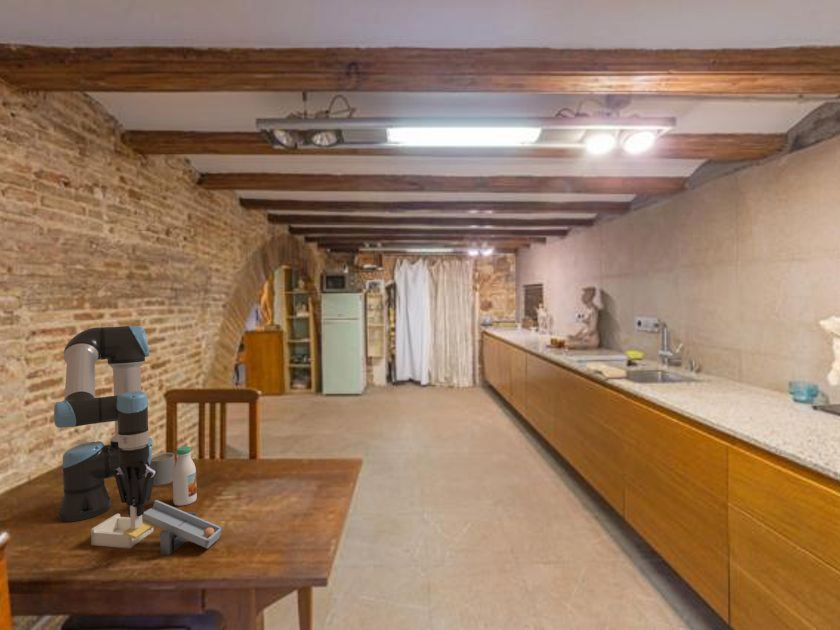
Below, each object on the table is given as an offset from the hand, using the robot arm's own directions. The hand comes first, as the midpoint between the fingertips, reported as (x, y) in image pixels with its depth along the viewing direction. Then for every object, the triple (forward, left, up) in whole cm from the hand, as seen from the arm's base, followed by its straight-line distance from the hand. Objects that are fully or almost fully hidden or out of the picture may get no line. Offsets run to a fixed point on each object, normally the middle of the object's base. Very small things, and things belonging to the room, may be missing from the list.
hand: (136, 526), depth 133 cm
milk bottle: (-9, +34, -9) cm, 37 cm away
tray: (-12, +8, -9) cm, 17 cm away
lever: (+8, +5, -4) cm, 10 cm away
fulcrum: (+8, +8, -9) cm, 14 cm away
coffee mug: (-33, +50, -9) cm, 61 cm away
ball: (+17, +8, -5) cm, 20 cm away
